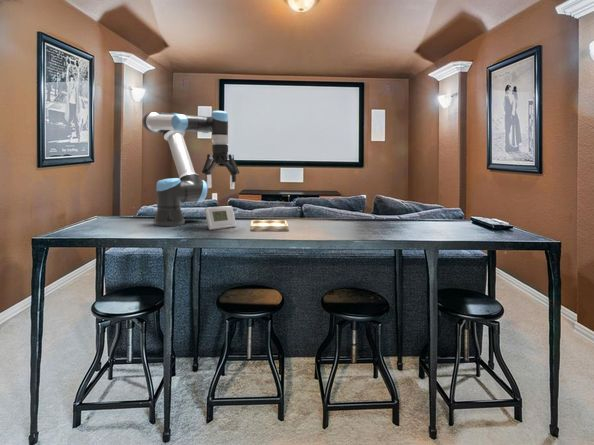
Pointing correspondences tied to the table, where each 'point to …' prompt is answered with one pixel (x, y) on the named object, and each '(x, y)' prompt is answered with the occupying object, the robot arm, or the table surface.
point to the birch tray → (269, 225)
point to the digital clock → (220, 217)
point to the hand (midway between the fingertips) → (220, 188)
